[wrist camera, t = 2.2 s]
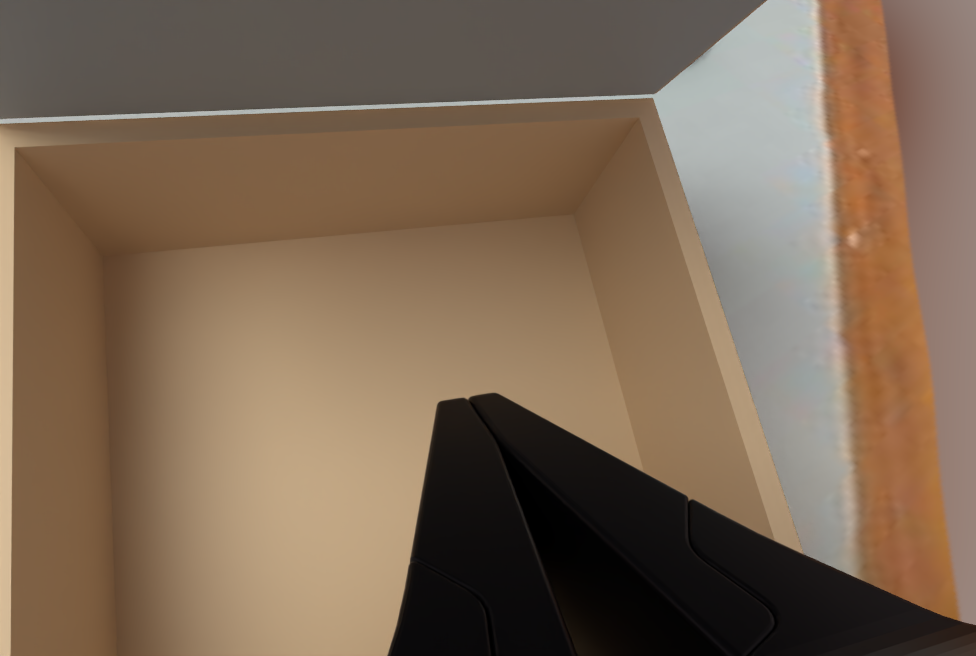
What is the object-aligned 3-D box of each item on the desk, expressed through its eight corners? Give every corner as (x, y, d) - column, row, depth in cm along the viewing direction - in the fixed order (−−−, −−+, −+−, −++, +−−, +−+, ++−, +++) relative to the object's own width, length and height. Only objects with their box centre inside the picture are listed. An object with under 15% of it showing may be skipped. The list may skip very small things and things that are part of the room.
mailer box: (713, 689, 19) (866, 745, 13) (104, 882, 15) (-41, 1082, 9) (579, 206, 23) (653, 98, 18) (86, 248, 19) (-18, 124, 14)
